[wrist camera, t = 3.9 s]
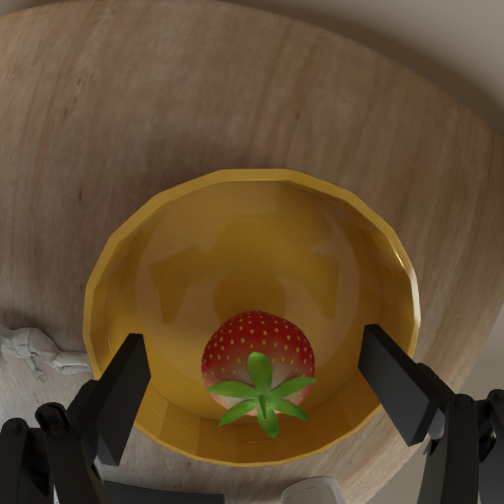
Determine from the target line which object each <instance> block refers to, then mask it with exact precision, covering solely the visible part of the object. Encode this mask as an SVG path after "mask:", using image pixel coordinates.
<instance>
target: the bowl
mask: <svg viewBox="0 0 504 504" xmlns="http://www.w3.org/2000/svg"><path fill="white" fill-rule="evenodd" d="M252 310H259V311H265V312H267V313H270V314H273V315H276V316H279V317H281V318H284V319H286V320H288V321H290V322H292V323H293V324H294V325H296V326H297V327H298V328H300V329H301V330H302V331H303V333H304V334H305V336H306V337H307V339H308V341H309V342H310V344H311V347H312V350H313V353H314V357H315V374H314V379H316V380H317V381H315V382H312V385H311V388H310V390H309V393H308V394H307V395H306V397H305V398H304V399H303V400H302V402H301V403H299V404H298V405H297V406H298V407H300V408H301V409H302V410H303V411H304V412H305V414H306V415H307V416H308V418H309V419H310V422H309V421H306V420H303V419H301V418H298V417H295V416H292V415H289V414H286V413H278V414H275V415H276V417H277V419H278V423H279V430H278V434H277V435H276V437H275V438H273V437H270V436H269V435H267V434H266V433H265V431H264V430H263V429H262V427H261V426H260V425H259V423H258V420H257V416H253V415H244V416H242V417H240V418H238V419H236V420H234V421H232V422H229V423H227V424H224V425H221V426H218V425H219V423H220V421H221V419H222V417H223V416H224V414H225V413H226V412H227V411H228V410H229V409H227V408H225V407H223V406H221V405H220V404H219V403H217V402H216V401H215V400H214V399H213V398H212V396H211V395H210V394H209V392H208V390H206V387H205V384H204V381H203V378H202V372H201V359H202V356H203V352H204V349H205V346H206V344H207V343H208V341H209V340H210V338H211V336H212V335H213V334H214V333H215V331H216V330H217V329H218V328H219V327H220V326H221V325H222V324H224V323H225V322H226V321H228V320H229V319H231V318H232V317H234V316H236V315H238V314H241V313H244V312H247V311H252ZM369 324H378V325H379V326H380V327H381V328H382V329H383V330H384V331H385V332H386V333H387V334H388V335H389V336H390V337H391V338H392V339H393V340H394V341H395V342H396V343H397V344H398V346H399V347H400V348H401V349H402V350H403V351H404V352H405V353H406V354H407V355H408V356H409V357H410V358H411V359H412V358H413V354H414V350H415V346H416V342H417V338H418V333H419V329H420V324H421V313H420V301H419V291H418V282H417V276H416V273H415V271H414V268H413V266H412V264H411V262H410V260H409V258H408V256H407V254H406V252H405V250H404V248H403V246H402V244H401V242H400V240H399V238H398V236H397V234H396V232H395V230H394V229H393V228H392V227H391V226H390V225H389V224H388V223H387V222H385V221H384V220H383V219H382V218H381V217H380V216H379V215H378V214H377V213H376V212H374V211H373V210H372V209H371V208H370V207H369V206H368V205H367V204H365V203H364V202H363V201H362V200H361V199H360V198H359V197H357V196H356V195H355V194H354V193H353V192H351V191H349V190H347V189H344V188H342V187H339V186H337V185H334V184H331V183H329V182H326V181H323V180H321V179H318V178H315V177H313V176H310V175H307V174H304V173H301V172H299V171H296V170H293V169H273V168H254V169H222V170H217V171H214V172H211V173H209V174H206V175H203V176H200V177H198V178H195V179H192V180H190V181H187V182H184V183H182V184H179V185H177V186H174V187H172V188H169V189H167V190H164V191H162V192H159V193H158V194H156V195H154V196H153V197H152V198H151V199H150V200H149V201H148V202H146V203H145V204H144V205H143V206H142V207H141V208H140V209H138V210H137V211H136V212H135V213H134V214H133V215H132V216H131V217H129V218H128V219H127V220H126V221H125V222H124V223H123V224H122V225H121V226H120V227H119V228H117V229H116V230H115V231H114V232H113V233H112V234H111V236H110V237H109V239H108V241H107V243H106V245H105V247H104V249H103V251H102V252H101V254H100V256H99V259H98V261H97V263H96V265H95V267H94V269H93V271H92V273H91V275H90V277H89V279H88V282H87V284H86V291H85V301H84V314H83V332H82V334H83V339H84V342H85V346H86V350H87V353H88V357H89V360H90V363H91V367H92V370H93V373H94V376H95V378H96V380H99V379H100V378H101V376H102V375H103V373H104V371H105V370H106V368H107V367H108V365H109V363H110V362H111V360H112V359H113V357H114V356H115V354H116V353H117V351H118V349H119V348H120V346H121V345H122V343H123V342H124V340H125V339H126V337H127V336H128V334H129V333H138V334H143V338H144V343H145V348H146V353H147V358H148V363H149V368H150V372H151V379H150V382H149V384H148V387H147V389H146V392H145V394H144V397H143V400H142V402H141V405H140V408H139V410H138V413H137V416H136V418H135V421H134V424H133V426H134V427H136V428H137V429H138V430H139V431H141V432H142V433H143V434H144V435H146V436H147V437H148V438H150V439H151V440H152V441H154V442H155V443H157V444H159V445H161V446H164V447H166V448H168V449H170V450H172V451H175V452H177V453H179V454H182V455H184V456H186V457H189V458H191V459H194V460H198V461H203V462H208V463H214V464H219V465H225V466H232V467H254V466H270V465H279V464H284V463H288V462H291V461H295V460H298V459H302V458H305V457H308V456H311V455H315V454H318V453H320V452H322V451H324V450H326V449H328V448H330V447H332V446H333V445H335V444H337V443H339V442H341V441H342V440H344V439H346V438H347V437H349V436H351V435H352V434H354V433H356V432H357V431H358V430H360V429H361V428H362V427H363V426H364V425H365V424H366V423H367V422H368V421H369V420H370V419H371V418H372V417H374V416H375V415H376V414H377V413H378V412H379V411H380V410H381V409H382V408H383V406H382V404H381V403H380V401H379V400H378V398H377V396H376V395H375V393H374V392H373V390H372V389H371V387H370V386H369V384H368V383H367V381H366V379H365V378H364V376H363V375H362V373H361V372H360V370H359V369H358V361H359V356H360V350H361V345H362V339H363V332H364V326H365V325H369Z"/></svg>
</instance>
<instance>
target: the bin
mask: <svg viewBox="0 0 504 504" xmlns="http://www.w3.org/2000/svg"><path fill="white" fill-rule="evenodd" d="M104 487H105V489H106V491H107V493H108V495H109V498H110V500H111V502H112V504H226V503H225V498H224V495H213V494H191V493H178V492H168V491H160V490H152V489H146V488H139V487H134V486H128V485H123V484H118V483H113V482H109V481H104Z"/></svg>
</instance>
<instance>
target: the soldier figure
mask: <svg viewBox="0 0 504 504" xmlns="http://www.w3.org/2000/svg"><path fill="white" fill-rule="evenodd" d="M10 329H11V330H10ZM2 353H5V354H8V355H14V356H16V357H17V358H23V359H24V360H25V361H26V364H27V365H28V367H29V368H30V369H31V370H32V372H33V374H34V375H35V377H36V379H38V380H39V381H40V382H42V383H45V381H43V380H42V379H41V378H40V374H42V375H44V374H43V373H42V372H40V371H38V370H36V368H35V367H36V365H35V363H34V361H33V360H32V358H31V356H37V354H38V355H39V356H40V357H41V358H42V359H43V360H44V362H45V363H47V364H48V365H49V366H51V367H53V368H55V369H56V370H57V371H59V372H60V373H61V374H63V375H67V374H69V375H74V374H75V373H80V372H92V375H93V380H96V378H95V376H94V373H93V370H92V367H91V363H90V360H89V357H88V353H79V352H64V351H63V352H61V351H60V350H59V349H58V348H57V347H56V345H55V343H54V342H53V340H52V339H51V338H49V337H48V336H47V335H45V334H44V333H43V332H42V331H41V330H39V329H37V328H34V327H29V328H21V329H18V330H16V331H15V330H14V329H12V328H10V327H7V326H6V325H4V326H0V366H1V368H2V369H3V370H6V369H5V368H6V366H5V365H4V364H3V363H5V364H8V363H7V361H6V360H5V359H4V357H3V355H2ZM2 362H3V363H2Z"/></svg>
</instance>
